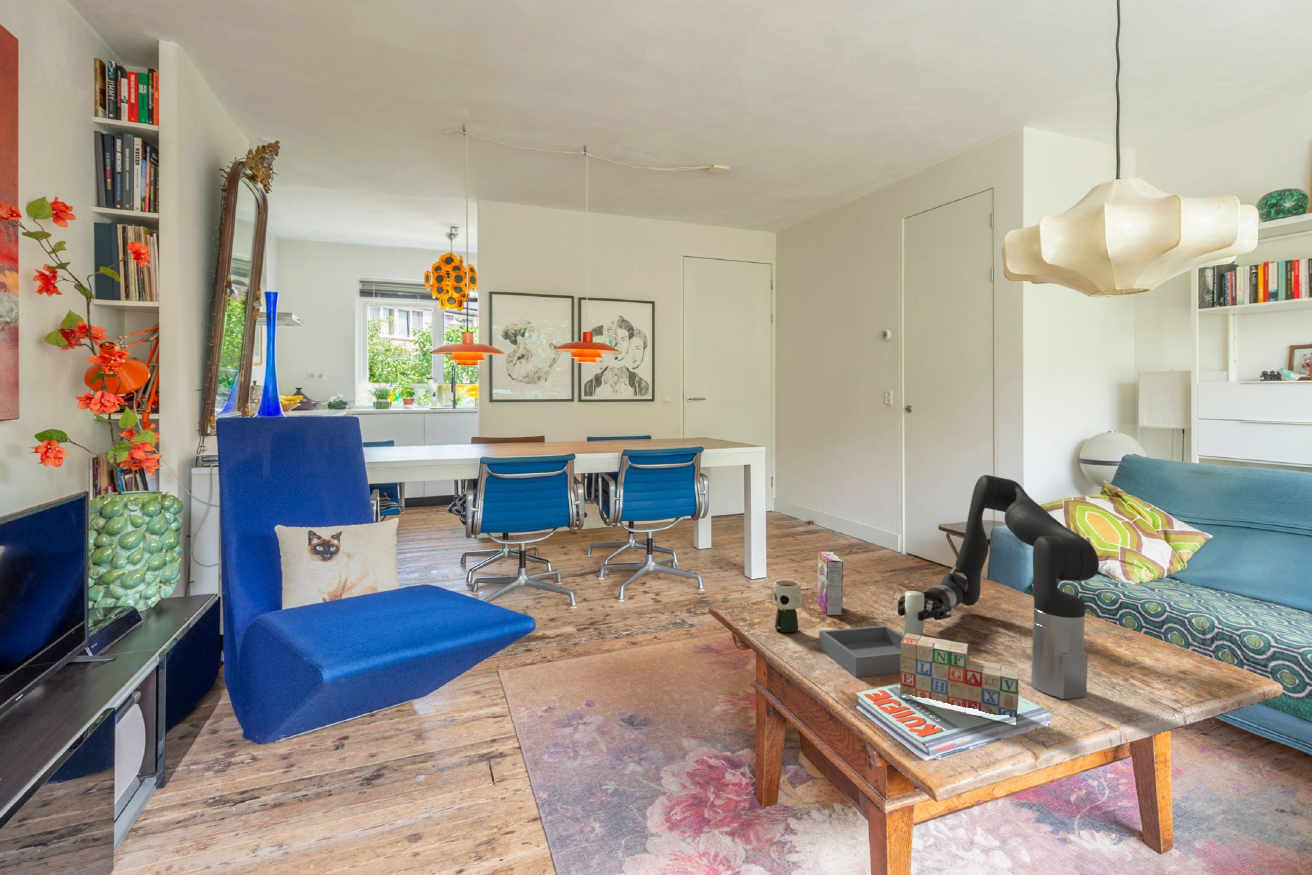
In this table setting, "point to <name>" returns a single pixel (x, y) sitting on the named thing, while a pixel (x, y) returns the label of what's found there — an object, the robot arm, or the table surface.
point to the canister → (913, 612)
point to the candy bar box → (830, 583)
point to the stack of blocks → (956, 676)
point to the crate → (864, 649)
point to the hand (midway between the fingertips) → (909, 614)
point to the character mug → (787, 604)
